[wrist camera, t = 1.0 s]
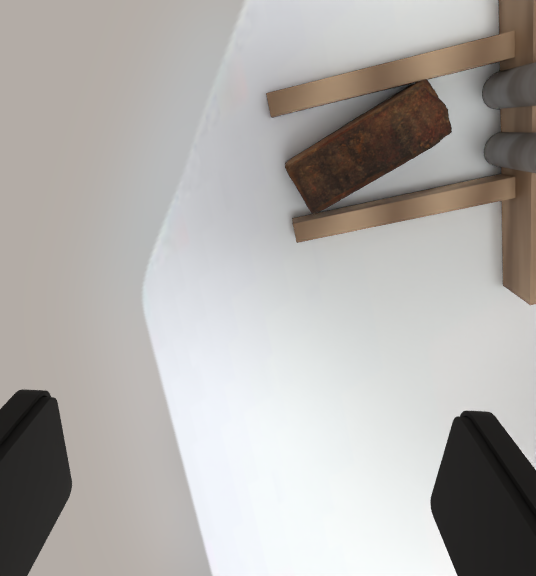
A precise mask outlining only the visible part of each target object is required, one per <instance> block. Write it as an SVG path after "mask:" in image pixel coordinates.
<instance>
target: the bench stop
mask: <svg viewBox="0 0 536 576" xmlns="http://www.w3.org/2000/svg"><path fill="white" fill-rule="evenodd" d="M497 62H500V72H497V73H495V74H493V75H492V76H491V77H490V78H489V79H488V80H487V81H486V83H485V85H484V87H483V92H482V96H483V100H484V102H485V104H486V105H487V106H488V107H490V108H493V109H500V115H501V132H499V133H497V134H495V135H493V136H492V137H491V138H490V139H489V140H488V141H487V143H486V145H485V148H484V156H485V159H486V161H487V162H488V163H489V164H491V165H494V166H499V167H501V174H498V175H493V176H489V177H484V178H479V179H474V180H470V181H465V182H460V183H456V184H451V185H446V186H442V187H437V188H432V189H427V190H423V191H418V192H413V193H409V194H404V195H399V196H395V197H390V198H385V199H381V200H376V201H371V202H366V203H362V204H357V205H352V206H348V207H343V208H338V209H334V210H329V211H324V212H320V213H315V214H310V215H305V216H301V217H296V218H292V219H293V227H294V232H295V237H296V242H297V243H298V242H303V241H308V240H313V239H317V238H322V237H327V236H332V235H337V234H342V233H347V232H351V231H356V230H361V229H366V228H371V227H376V226H381V225H386V224H390V223H395V222H400V221H405V220H410V219H415V218H420V217H424V216H429V215H434V214H439V213H444V212H449V211H454V210H459V209H463V208H468V207H473V206H478V205H483V204H488V203H493V202H497V201H502V254H503V286H505V287H506V288H507V289H509V290H510V291H511V292H513V293H514V294H516V295H517V296H518V297H520V298H521V299H522V300H524V301H525V302H527V303H528V304H529V305H533V304H536V0H499V35H495V36H491V37H487V38H483V39H479V40H475V41H471V42H467V43H463V44H460V45H456V46H452V47H448V48H444V49H440V50H436V51H432V52H428V53H424V54H420V55H416V56H412V57H408V58H404V59H400V60H396V61H392V62H388V63H384V64H380V65H376V66H372V67H368V68H364V69H360V70H356V71H352V72H348V73H345V74H341V75H337V76H333V77H329V78H325V79H321V80H317V81H313V82H309V83H305V84H301V85H297V86H293V87H289V88H285V89H281V90H277V91H273V92H269V93H266V95H267V100H268V105H269V109H270V114H271V117H276V116H280V115H284V114H288V113H292V112H297V111H301V110H305V109H309V108H313V107H317V106H321V105H325V104H329V103H333V102H337V101H342V100H346V99H350V98H354V97H358V96H362V95H366V94H370V93H374V92H378V91H382V90H387V89H391V88H395V87H399V86H403V85H407V84H411V83H415V82H419V81H421V80H424V79H432V78H436V77H440V76H444V75H448V74H452V73H456V72H460V71H464V70H468V69H472V68H477V67H481V66H485V65H489V64H493V63H497Z"/></svg>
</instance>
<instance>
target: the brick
mask: <svg viewBox="0 0 536 576" xmlns="http://www.w3.org/2000/svg"><path fill="white" fill-rule="evenodd" d="M448 116H449V115H448V109H447V108H446V105H445V104H444V103H443V102H442V101H441V100H440V99H439V98H438V95H437V94H436V92H435V90H434V89H433V88H432V86H431V84H430V83H429V82H428V80H427V79H424V80H421V81H419V82H416V83H414V84H412V85H410V86H409V87H407V88H405V89H404V90H402V91H400V92H399V93H397V94H395V95H394V96H392V97H391V98H389V99H387V100H386V101H384V102H382V103H381V104H379V105H377V106H376V107H374V108H373V109H371V110H369V111H368V112H366V113H364V114H362V115H361V116H359V117H357V118H356V119H354V120H353V121H351V122H349V123H348V124H346V125H345V126H343V127H342V128H340V129H338V130H337V131H335V132H334V133H332V134H330V135H329V136H327V137H325V138H324V139H322V140H321V141H319V142H318V143H316V144H314V145H312V146H311V147H309V148H308V149H306V150H304V151H303V152H301V153H300V154H298V155H296V156H295V157H293V158H291V159H290V160H288V161H287V162H286V163H285V168H286V170H287V172H288V175H289V176H290V178H291V179H292V181H293V182H294V184H295V185H296V187H297V189H298V191H299V192H300V194H301V196H302V198H303V199H304V201H305V203H306V205H307V207H308V208H309V210H310V212H311V213H312V214H314V213H316V212H320V211H322V210H324V209H326V208H327V207H329V206H331V205H333V204H334V203H336V202H338V201H340V200H341V199H343V198H345V197H347V196H348V195H350V194H352V193H353V192H355V191H357V190H359V189H360V188H362V187H364V186H366V185H367V184H369V183H371V182H373V181H374V180H376V179H378V178H380V177H381V176H383V175H385V174H386V173H388V172H390V171H392V170H394V169H395V168H397V167H399V166H401V165H402V164H404V163H406V162H407V161H409V160H411V159H413V158H415V157H416V156H418V155H419V154H421V153H423V152H425V151H426V150H428V149H430V148H432V147H433V146H435V145H436V144H437V143H439V142H440V140H442V139H443V138H444V137H445V136H447V135H449V134H450V133H451V132H452V131H451V129H452V128H451V124H450V121H449V118H448Z"/></svg>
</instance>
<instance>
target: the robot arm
mask: <svg viewBox="0 0 536 576" xmlns="http://www.w3.org/2000/svg"><path fill="white" fill-rule="evenodd" d="M71 488H72V479H71V474H70V469H69V463H68V457H67V452H66V446H65V441H64V435H63V430H62V425H61V419H60V413H59V409H58V403H57V400H56V398H52V397H51V396H50V394H49V392H48V391H42V390H19V391H17V392H16V393H15V394H14V395H13V396H12V397H11V398H10V399H9V401H8V402H7V403H6V404H5V405H4V406H3V407H2V408H1V409H0V576H27V575H28V573H29V571H30V569H31V568H32V566H33V564H34V562H35V560H36V558H37V556H38V555H39V553H40V551H41V549H42V547H43V545H44V543H45V541H46V539H47V537H48V536H49V534H50V532H51V530H52V528H53V526H54V524H55V523H56V521H57V519H58V517H59V515H60V513H61V511H62V510H63V508H64V506H65V504H66V502H67V500H68V498H69V496H70V492H71ZM431 510H432V514H433V517H434V519H435V522H436V524H437V527H438V529H439V531H440V534H441V536H442V539H443V541H444V544H445V546H446V549H447V551H448V553H449V556H450V558H451V561H452V563H453V566H454V568H455V571H456V573H457V575H458V576H536V470H535V469H534V467H533V466H532V465H531V463H530V462H529V461H528V459H527V458H526V457H525V455H524V454H523V453H522V451H521V450H520V449H519V447H518V446H517V445H516V444H515V442H514V441H513V440H512V438H511V437H510V436H509V434H508V433H507V432H506V430H505V429H504V428H503V426H502V425H501V424H500V422H499V421H498V420H497V418H496V417H495V416H494V415H493V414H492V413H490V412H482V411H463V412H462V413H461V415H460V417H455V418H454V420H453V423H452V427H451V430H450V434H449V437H448V440H447V444H446V447H445V451H444V454H443V458H442V461H441V465H440V468H439V471H438V475H437V478H436V482H435V485H434V489H433V492H432V496H431Z"/></svg>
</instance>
